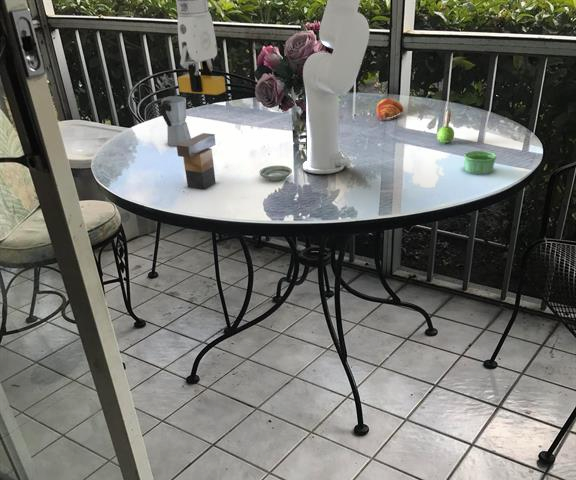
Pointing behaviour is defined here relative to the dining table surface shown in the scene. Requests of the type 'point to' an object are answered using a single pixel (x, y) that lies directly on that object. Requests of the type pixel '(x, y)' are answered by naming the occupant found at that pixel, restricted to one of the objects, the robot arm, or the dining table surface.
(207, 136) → the lower bar
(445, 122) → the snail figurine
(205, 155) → the tower
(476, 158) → the ramekin
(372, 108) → the dining table surface
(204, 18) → the robot arm
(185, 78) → the top bar
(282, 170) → the saucer
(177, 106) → the coffee maker
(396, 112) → the croissant
